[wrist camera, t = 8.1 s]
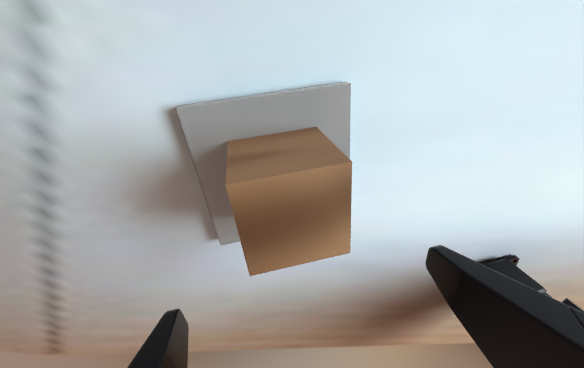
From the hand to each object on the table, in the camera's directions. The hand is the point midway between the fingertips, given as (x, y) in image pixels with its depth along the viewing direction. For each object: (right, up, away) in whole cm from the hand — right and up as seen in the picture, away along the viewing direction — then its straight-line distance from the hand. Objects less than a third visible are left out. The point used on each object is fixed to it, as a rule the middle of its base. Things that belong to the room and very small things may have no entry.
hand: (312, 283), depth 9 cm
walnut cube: (-2, +4, +8) cm, 9 cm away
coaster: (-2, +5, +9) cm, 10 cm away
